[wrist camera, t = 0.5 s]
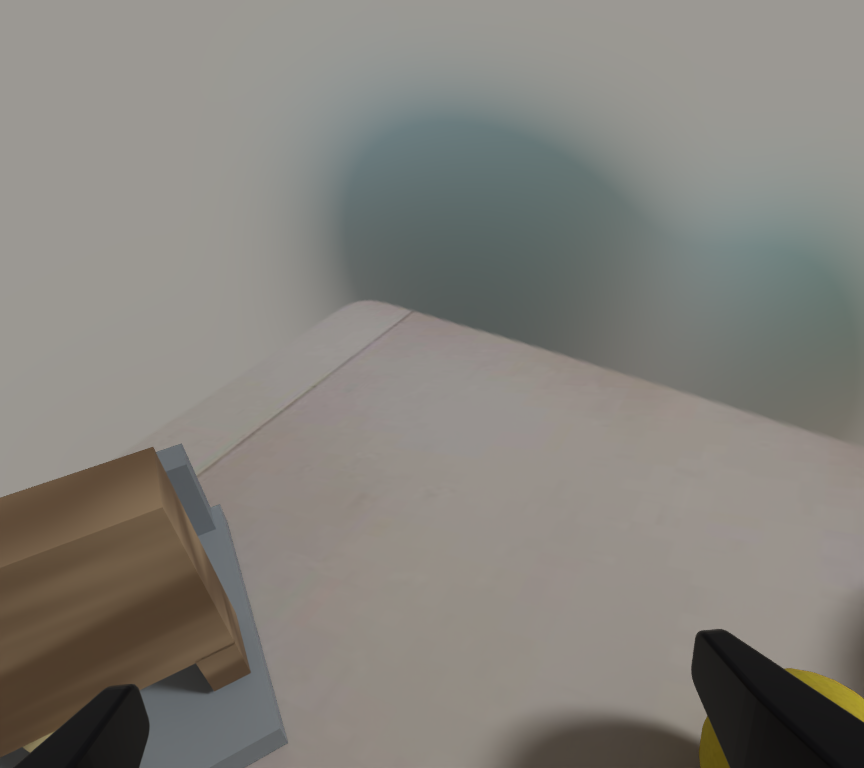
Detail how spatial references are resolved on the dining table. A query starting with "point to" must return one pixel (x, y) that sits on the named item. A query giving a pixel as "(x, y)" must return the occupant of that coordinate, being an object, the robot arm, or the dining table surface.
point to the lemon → (710, 749)
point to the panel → (103, 595)
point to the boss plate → (188, 689)
